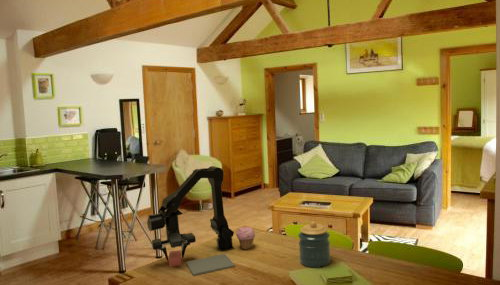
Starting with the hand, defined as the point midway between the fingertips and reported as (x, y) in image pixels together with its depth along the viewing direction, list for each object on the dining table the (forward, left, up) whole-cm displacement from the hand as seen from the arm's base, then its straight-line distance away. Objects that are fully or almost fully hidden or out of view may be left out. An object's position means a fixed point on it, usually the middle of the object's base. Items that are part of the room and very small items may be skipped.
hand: (175, 259), depth 183 cm
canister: (-54, +30, -2) cm, 62 cm away
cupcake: (-34, 0, -2) cm, 34 cm away
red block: (0, 0, -2) cm, 2 cm away
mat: (-13, +11, -1) cm, 17 cm away
